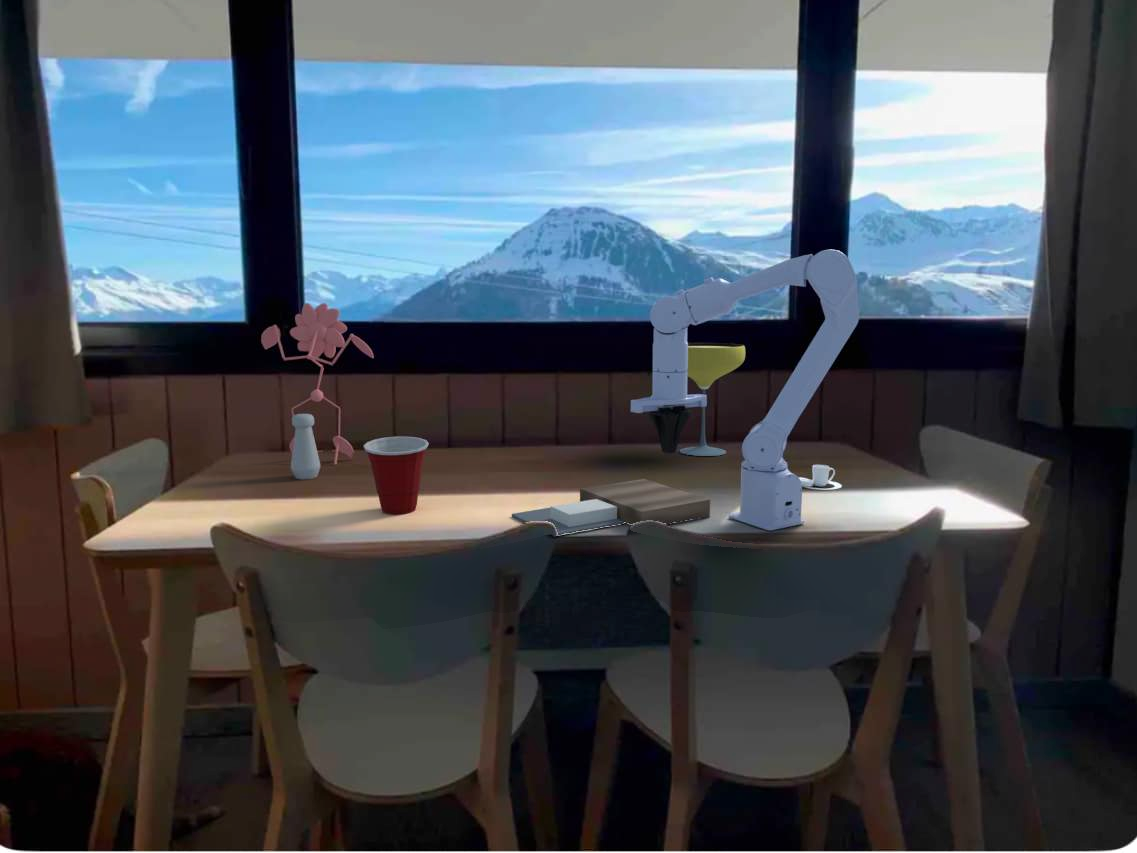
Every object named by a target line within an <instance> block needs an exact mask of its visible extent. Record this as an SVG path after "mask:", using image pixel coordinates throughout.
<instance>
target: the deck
mask: <svg viewBox="0 0 1137 853" xmlns="http://www.w3.org/2000/svg"><path fill="white" fill-rule="evenodd" d="M593 499H598V500H601V501H604V502H606V503H609V504H611V505H614V506H617V519H619V520H621V521H624V522H626V523H629V524H633V523H636V522H640V521H646V520H653V521H659V522H662V523H666V524H670V523H673V522H680V521H685V520H690V519H697V520H699V519H698V518H703V519H706V517H708V518H710V517H711V514H710V513H711V499H709V498H707V497H704V496H700V495H696V494H693V493H691V492H688V491H684V490H681V489H677V488H674V487H672V486H668V485H664V484H662V483H658V482H655V481H653V480H649V479H646V478H642V479H635V480H628V481H622V482H616V483H615V482H614V483H609V484H603V485H596V486H595V485H594V486H589V487H582V488H579V502H581V501H587V500H593Z"/></svg>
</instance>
